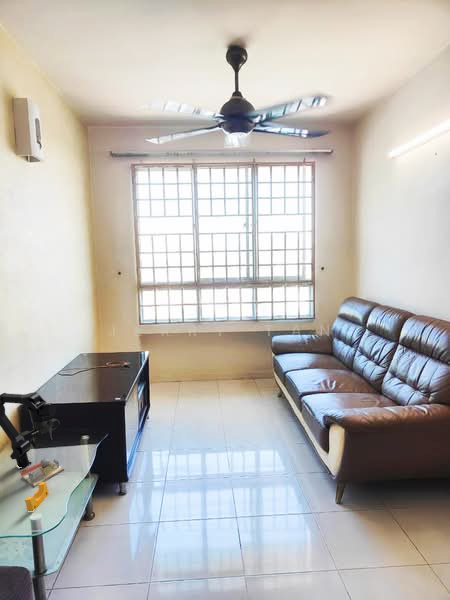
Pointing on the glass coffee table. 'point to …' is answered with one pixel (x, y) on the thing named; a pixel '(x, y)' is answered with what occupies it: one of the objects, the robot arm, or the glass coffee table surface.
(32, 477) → the valve body
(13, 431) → the robot arm
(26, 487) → the glass coffee table surface
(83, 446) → the glass coffee table surface
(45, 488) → the pipe clamp
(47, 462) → the lever
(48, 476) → the board
